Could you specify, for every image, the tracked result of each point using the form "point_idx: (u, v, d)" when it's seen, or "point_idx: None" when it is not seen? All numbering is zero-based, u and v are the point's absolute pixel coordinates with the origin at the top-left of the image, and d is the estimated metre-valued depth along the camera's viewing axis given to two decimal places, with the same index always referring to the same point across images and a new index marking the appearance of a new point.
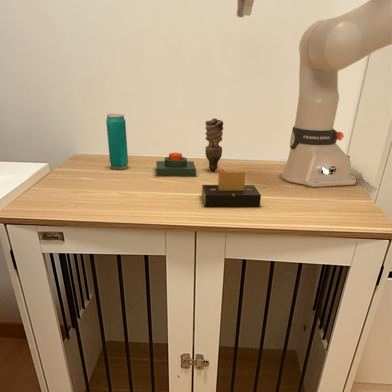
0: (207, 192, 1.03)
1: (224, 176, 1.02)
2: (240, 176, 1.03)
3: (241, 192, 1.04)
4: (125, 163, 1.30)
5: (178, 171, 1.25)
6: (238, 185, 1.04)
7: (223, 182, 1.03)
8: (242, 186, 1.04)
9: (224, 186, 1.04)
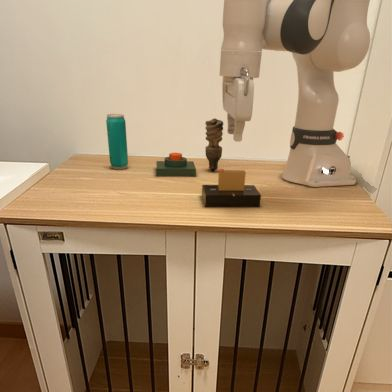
0: (207, 192, 1.03)
1: (224, 176, 1.02)
2: (240, 176, 1.03)
3: (241, 192, 1.04)
4: (125, 163, 1.30)
5: (178, 171, 1.25)
6: (238, 185, 1.04)
7: (223, 182, 1.03)
8: (242, 186, 1.04)
9: (224, 186, 1.04)
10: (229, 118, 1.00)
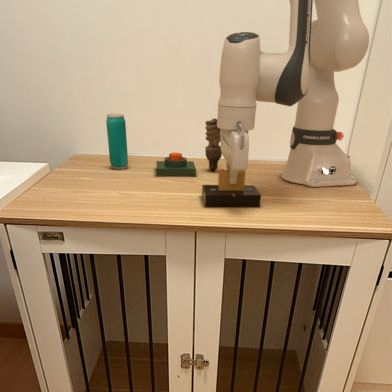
0: (207, 192, 1.03)
1: (224, 176, 1.02)
2: (240, 176, 1.03)
3: (241, 192, 1.04)
4: (125, 163, 1.30)
5: (178, 171, 1.25)
6: (238, 185, 1.04)
7: (223, 182, 1.03)
8: (242, 186, 1.04)
9: (224, 186, 1.04)
10: (228, 165, 1.04)
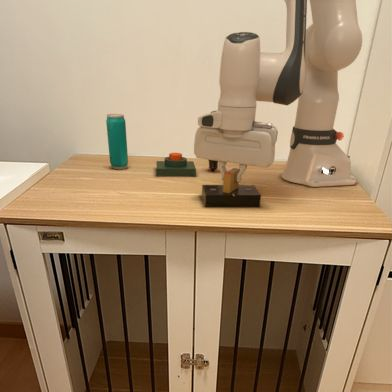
0: (207, 192, 1.03)
1: (232, 177, 1.01)
2: None
3: (241, 192, 1.04)
4: (125, 163, 1.30)
5: (178, 171, 1.25)
6: (237, 183, 1.05)
7: (231, 184, 1.02)
8: (238, 183, 1.06)
9: (231, 187, 1.03)
10: (222, 166, 1.03)
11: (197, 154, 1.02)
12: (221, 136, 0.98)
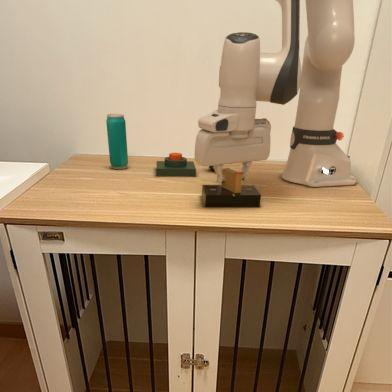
0: (207, 192, 1.03)
1: None
2: None
3: (241, 192, 1.04)
4: (125, 163, 1.30)
5: (178, 171, 1.25)
6: None
7: None
8: None
9: None
10: None
11: (205, 162, 0.96)
12: (229, 138, 0.96)
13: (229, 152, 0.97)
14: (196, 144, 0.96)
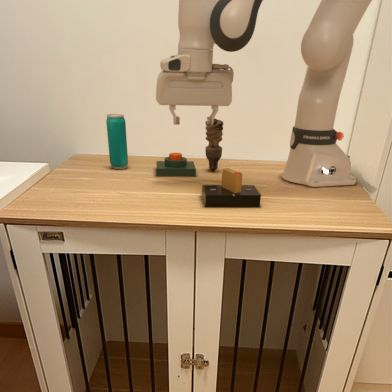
0: (207, 192, 1.03)
1: None
2: None
3: (241, 192, 1.04)
4: (125, 163, 1.30)
5: (178, 171, 1.25)
6: None
7: None
8: None
9: None
10: (173, 110, 1.09)
11: (162, 101, 1.06)
12: (185, 80, 1.04)
13: (186, 93, 1.06)
14: None
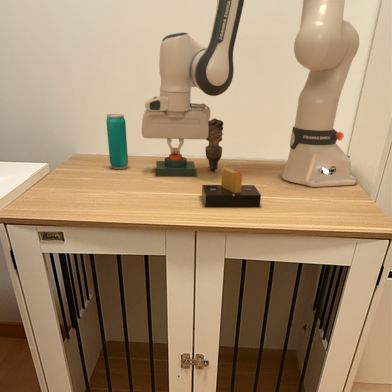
0: (207, 192, 1.03)
1: None
2: None
3: (241, 192, 1.04)
4: (125, 163, 1.30)
5: (178, 171, 1.25)
6: None
7: None
8: None
9: None
10: (170, 143, 1.25)
11: (145, 134, 1.21)
12: (166, 117, 1.19)
13: (167, 129, 1.21)
14: None
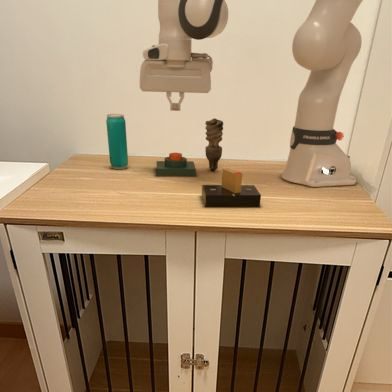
0: (207, 192, 1.03)
1: None
2: None
3: (241, 192, 1.04)
4: (125, 163, 1.30)
5: (178, 171, 1.25)
6: None
7: None
8: None
9: None
10: (169, 97, 1.17)
11: (143, 87, 1.14)
12: (165, 68, 1.12)
13: (166, 81, 1.14)
14: None
